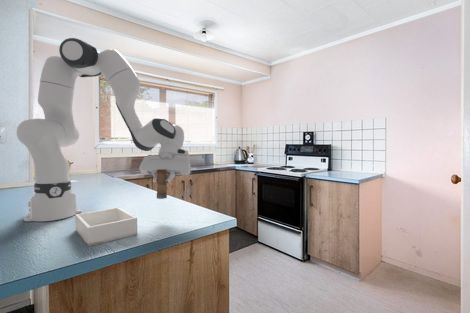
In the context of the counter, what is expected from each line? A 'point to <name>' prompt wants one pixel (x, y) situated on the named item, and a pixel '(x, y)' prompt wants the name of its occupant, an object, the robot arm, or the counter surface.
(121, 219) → the bin
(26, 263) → the counter surface
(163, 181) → the brown wooden block
